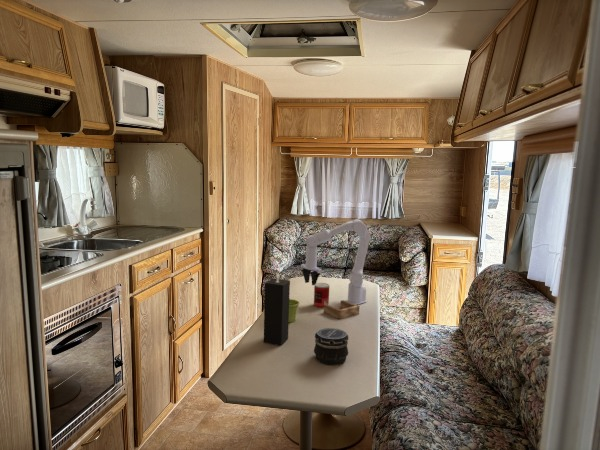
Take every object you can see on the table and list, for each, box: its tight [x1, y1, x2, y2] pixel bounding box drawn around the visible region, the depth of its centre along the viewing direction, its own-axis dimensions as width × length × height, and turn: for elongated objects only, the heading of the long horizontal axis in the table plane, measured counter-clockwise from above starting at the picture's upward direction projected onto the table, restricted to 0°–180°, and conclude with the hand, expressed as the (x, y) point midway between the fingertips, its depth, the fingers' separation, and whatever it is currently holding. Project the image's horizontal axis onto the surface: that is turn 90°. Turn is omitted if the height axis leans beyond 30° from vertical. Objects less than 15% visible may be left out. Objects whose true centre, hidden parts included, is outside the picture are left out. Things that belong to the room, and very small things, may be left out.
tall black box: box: [263, 273, 291, 346], centre depth 175 cm, size 8×8×28 cm
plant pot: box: [289, 298, 300, 323], centre depth 201 cm, size 9×9×9 cm
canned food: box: [313, 282, 330, 309], centre depth 224 cm, size 8×8×11 cm
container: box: [313, 327, 349, 366], centre depth 162 cm, size 13×13×10 cm
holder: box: [323, 299, 360, 320], centre depth 213 cm, size 13×12×4 cm
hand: (310, 283), depth 231 cm, fingers open, 5 cm apart
